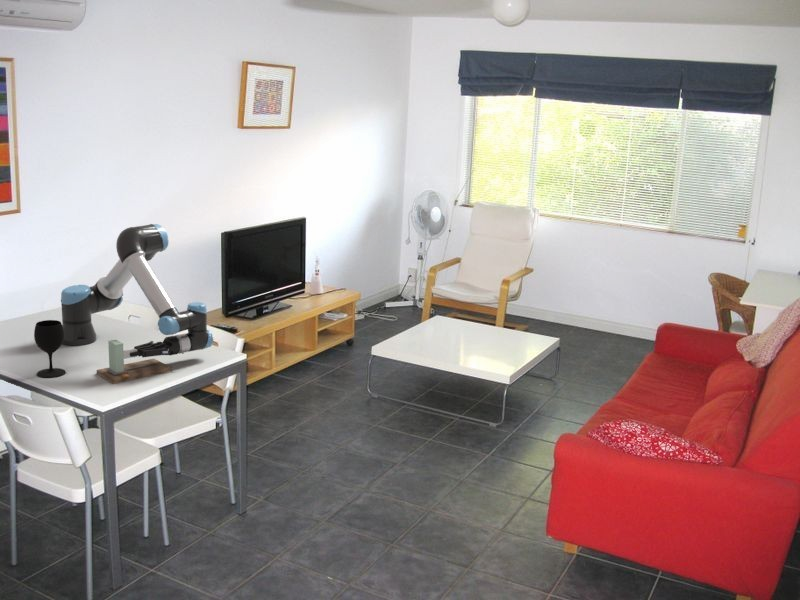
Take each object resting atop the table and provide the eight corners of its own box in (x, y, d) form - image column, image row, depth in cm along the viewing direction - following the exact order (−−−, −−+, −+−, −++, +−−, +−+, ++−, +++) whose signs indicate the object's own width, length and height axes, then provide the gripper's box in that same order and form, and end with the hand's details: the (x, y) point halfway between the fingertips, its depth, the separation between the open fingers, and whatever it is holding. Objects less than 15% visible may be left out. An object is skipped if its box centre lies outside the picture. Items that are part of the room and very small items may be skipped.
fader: (114, 375, 314) (113, 345, 311) (106, 370, 319) (105, 341, 316) (127, 372, 317) (126, 343, 314) (118, 367, 322) (117, 338, 319)
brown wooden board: (113, 383, 310) (113, 379, 310) (96, 373, 320) (96, 369, 319) (171, 371, 327) (171, 367, 326) (154, 362, 336) (153, 358, 336)
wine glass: (62, 378, 314) (59, 327, 309) (33, 378, 312) (30, 327, 307) (68, 369, 323) (66, 319, 319) (40, 369, 322) (37, 319, 317)
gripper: (184, 357, 330) (129, 369, 314) (168, 349, 339) (113, 360, 323) (184, 339, 328) (128, 350, 312) (167, 332, 337) (112, 341, 321)
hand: (120, 355), depth 318 cm, fingers closed
